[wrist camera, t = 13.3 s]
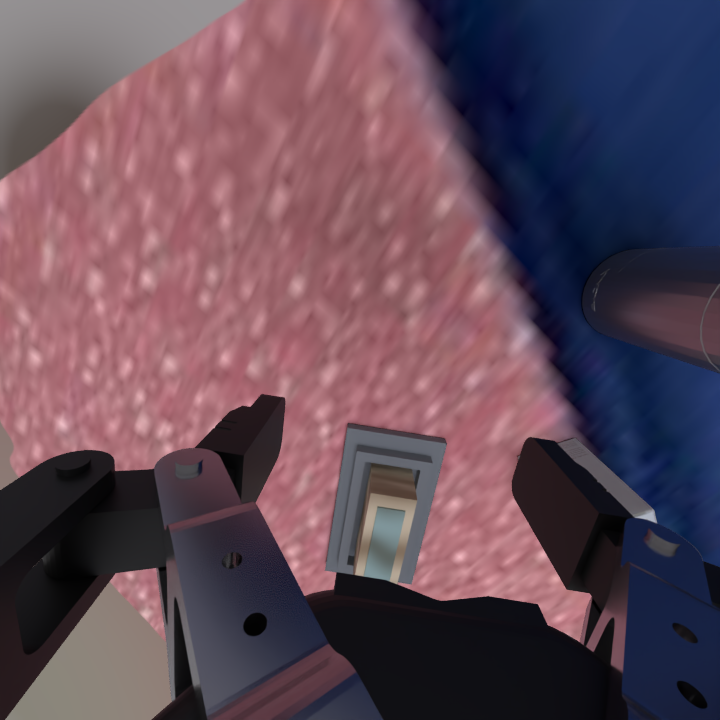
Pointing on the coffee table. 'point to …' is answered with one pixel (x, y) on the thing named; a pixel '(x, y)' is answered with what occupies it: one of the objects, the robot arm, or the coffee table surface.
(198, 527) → the robot arm
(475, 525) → the coffee table surface
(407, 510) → the oak frame
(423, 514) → the grey rectangular framed panel
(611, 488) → the supplement box
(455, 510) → the coffee table surface
